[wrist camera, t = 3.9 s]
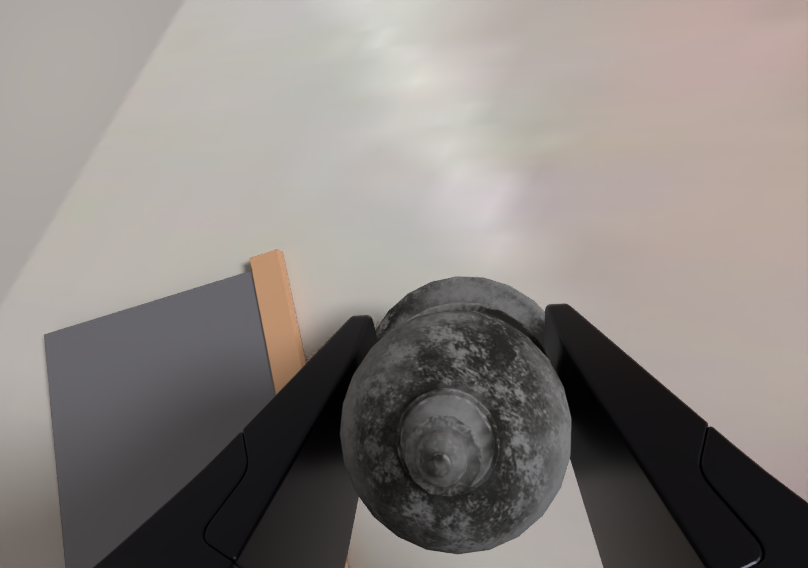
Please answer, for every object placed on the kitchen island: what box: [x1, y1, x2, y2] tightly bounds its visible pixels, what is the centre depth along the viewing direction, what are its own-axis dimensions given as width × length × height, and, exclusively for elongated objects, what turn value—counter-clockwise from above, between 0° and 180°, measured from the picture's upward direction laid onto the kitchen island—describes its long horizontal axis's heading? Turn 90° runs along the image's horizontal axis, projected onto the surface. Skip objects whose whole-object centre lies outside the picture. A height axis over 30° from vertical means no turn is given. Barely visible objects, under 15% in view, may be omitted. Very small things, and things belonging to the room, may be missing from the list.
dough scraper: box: [44, 250, 349, 568], centre depth 16 cm, size 11×13×1 cm
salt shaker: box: [340, 277, 571, 554], centre depth 9 cm, size 6×6×12 cm
